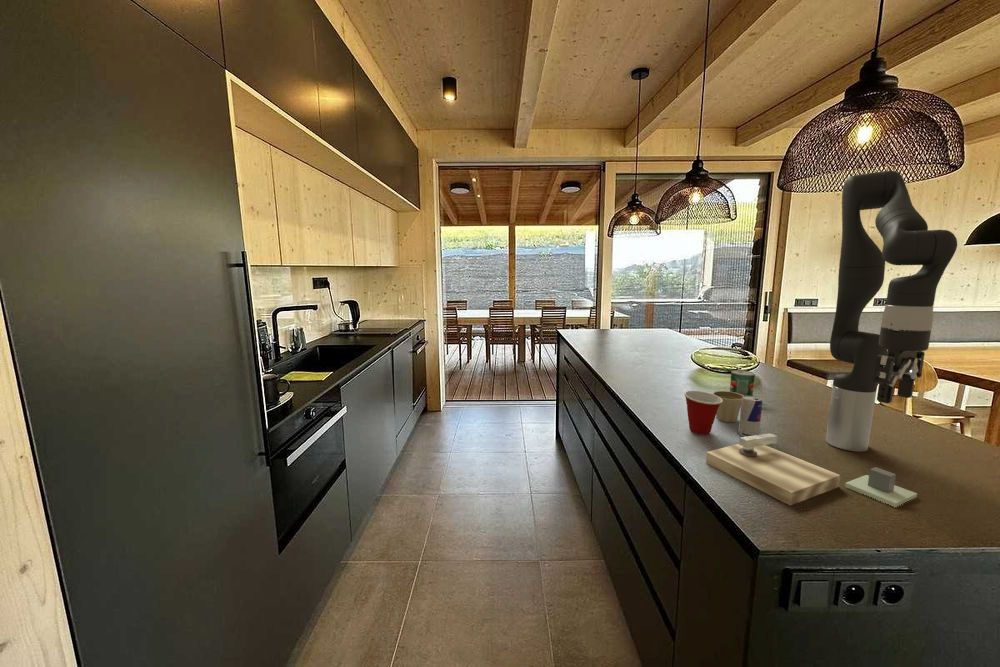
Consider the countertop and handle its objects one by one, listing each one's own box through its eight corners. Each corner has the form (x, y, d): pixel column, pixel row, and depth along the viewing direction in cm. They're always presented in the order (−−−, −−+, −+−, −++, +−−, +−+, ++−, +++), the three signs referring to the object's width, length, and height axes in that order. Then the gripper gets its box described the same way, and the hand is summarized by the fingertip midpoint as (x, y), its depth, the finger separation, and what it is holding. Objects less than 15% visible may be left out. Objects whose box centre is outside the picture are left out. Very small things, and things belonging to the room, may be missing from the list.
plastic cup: (716, 442, 116) (720, 403, 114) (678, 433, 122) (680, 396, 121) (722, 430, 124) (725, 394, 122) (686, 422, 131) (688, 388, 129)
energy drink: (762, 439, 117) (765, 401, 115) (742, 438, 118) (746, 400, 116) (754, 432, 122) (758, 395, 121) (735, 431, 124) (738, 394, 122)
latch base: (751, 450, 111) (752, 438, 110) (838, 487, 91) (840, 472, 91) (705, 462, 104) (706, 449, 103) (790, 505, 84) (792, 490, 84)
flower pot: (712, 422, 131) (714, 397, 130) (709, 412, 140) (711, 389, 138) (744, 426, 128) (747, 400, 126) (739, 416, 136) (741, 392, 135)
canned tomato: (757, 402, 150) (759, 375, 148) (736, 402, 150) (738, 375, 148) (744, 396, 158) (746, 369, 156) (724, 396, 158) (727, 369, 156)
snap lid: (865, 480, 95) (868, 459, 94) (916, 499, 87) (919, 476, 86) (844, 488, 92) (847, 466, 91) (895, 509, 83) (898, 485, 83)
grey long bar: (738, 449, 103) (739, 437, 102) (768, 445, 105) (769, 432, 105) (745, 453, 100) (747, 440, 100) (776, 449, 103) (777, 436, 102)
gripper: (899, 322, 89) (889, 390, 92) (865, 326, 84) (855, 398, 86) (946, 326, 83) (934, 400, 85) (912, 331, 77) (899, 409, 80)
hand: (894, 399), depth 86 cm, fingers open, 8 cm apart
